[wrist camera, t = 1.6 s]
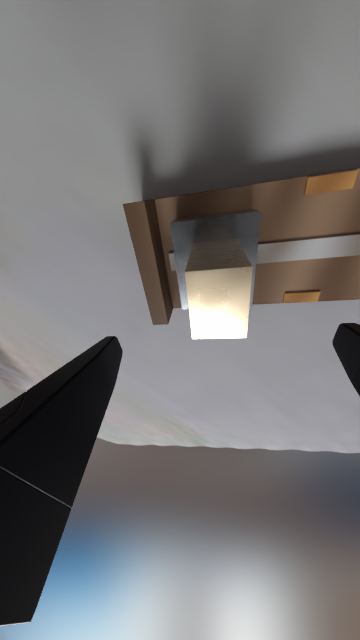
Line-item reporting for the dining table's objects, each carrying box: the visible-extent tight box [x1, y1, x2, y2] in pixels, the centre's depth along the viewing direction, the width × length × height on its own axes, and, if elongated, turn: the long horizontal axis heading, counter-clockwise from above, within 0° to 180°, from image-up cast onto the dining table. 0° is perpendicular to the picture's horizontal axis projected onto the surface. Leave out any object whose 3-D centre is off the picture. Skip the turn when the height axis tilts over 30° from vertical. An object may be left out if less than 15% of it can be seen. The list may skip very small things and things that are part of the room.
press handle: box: [170, 209, 261, 339], centre depth 13 cm, size 6×7×8 cm
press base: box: [123, 168, 360, 325], centre depth 15 cm, size 22×10×4 cm, turn 97°
